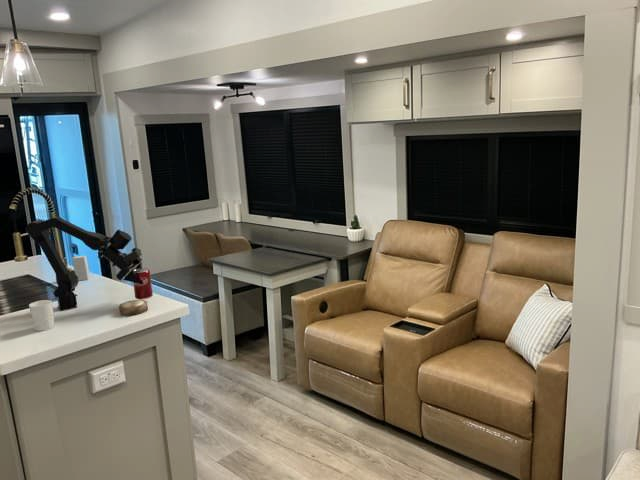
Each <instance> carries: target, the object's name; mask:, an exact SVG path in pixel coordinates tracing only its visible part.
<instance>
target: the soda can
mask: <svg viewBox="0 0 640 480" xmlns="http://www.w3.org/2000/svg"><path fill="white" fill-rule="evenodd" d="M134 272H135V274H136V275H137V276H138V277H139V278H140V279H141V280H142V281H143V284H138V283H134V282H132V284H133V293H134V299H135V300H148V299H151V298H152V297H153V295H154V294H153V286H152V285H153V284H152V277H151V270H150V269H149V268H146V267H145V268H143V267H142V269H136V270H134Z"/></svg>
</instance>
